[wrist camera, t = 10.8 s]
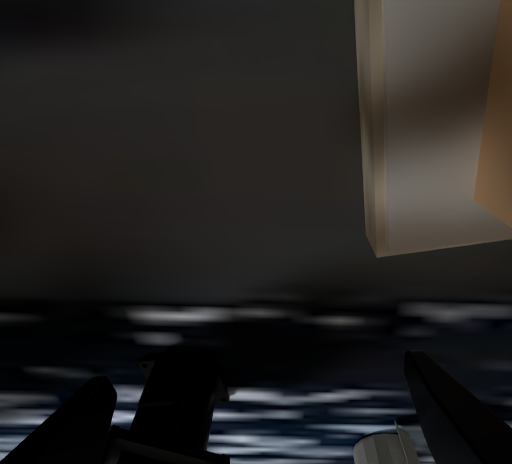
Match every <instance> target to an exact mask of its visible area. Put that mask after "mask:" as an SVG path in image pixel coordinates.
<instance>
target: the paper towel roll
mask: <svg viewBox="0 0 512 464" xmlns="http://www.w3.org/2000/svg"><path fill="white" fill-rule="evenodd" d="M395 425H396V429H397V432H398V435H396V434H377V435H371V436H369V437H366V438H363V439H362V440H360V441H359V442H358V443H356V444H355V447H354V450H353V456H354V461H355V464H420V462H419V459H418V456H417V453H416V450H415V447H414V445H413V443H412V441H411V438H410V436H409V435H407V434H406V433H404V432H403V431H401V430H400V429H399V427H398V426H397V424H396V421H395Z"/></svg>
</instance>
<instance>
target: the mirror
mask: <svg viewBox="0 0 512 464" xmlns="http://www.w3.org/2000/svg"><path fill="white" fill-rule="evenodd" d="M499 4H500V0H354V10H355V30H356V49H357V69H358V88H359V108H360V127H361V147H362V166H363V186H364V205H365V225H366V236H367V238H368V240H369V242H370V244H371V246H372V248H373V251H374V253H375V255H376V257H385V256H392V255H399V254H406V253H414V252H421V251H428V250H435V249H443V248H450V247H457V246H465V245H472V244H479V243H486V242H494V241H501V240H508V239H512V228H511V227H510V226H508V225H507V224H506V223H504V222H503V221H502V220H500V219H499V218H498V217H496V216H495V215H494V214H492V213H491V212H490V211H488V210H487V209H486V208H484V207H483V206H482V205H480V204H479V203H478V202H476V201H475V200H474V199H473V198H474V191H475V184H476V176H477V169H478V161H479V154H480V146H481V139H482V131H483V124H484V116H485V109H486V101H487V94H488V86H489V79H490V71H491V64H492V56H493V49H494V41H495V34H496V26H497V19H498V12H499Z"/></svg>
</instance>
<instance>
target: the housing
mask: <svg viewBox="0 0 512 464" xmlns="http://www.w3.org/2000/svg"><path fill="white" fill-rule="evenodd" d="M473 199H474V200H475V201H476V202H478V203H479V204H480V205H482V206H483V207H484V208H486V209H487V210H488V211H490V212H491V213H492V214H494V215H495V216H496V217H498V218H499V219H500V220H502V221H503V222H504V223H506V224H507V225H508V226H510V227H511V228H512V0H500V4H499V12H498V19H497V26H496V34H495V41H494V49H493V56H492V64H491V71H490V79H489V86H488V94H487V101H486V109H485V116H484V124H483V131H482V139H481V146H480V154H479V161H478V169H477V176H476V184H475V191H474V198H473Z"/></svg>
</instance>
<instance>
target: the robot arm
mask: <svg viewBox="0 0 512 464" xmlns="http://www.w3.org/2000/svg"><path fill="white" fill-rule="evenodd" d="M139 367H140V369H141V370H142V372H143V374H144V376H145V377H146V379H147V382H146V385H145V387H144V390H143V392H142V395H141V397H140V400H139V402H138V409H137V411H136V414H135V417H134V419H133V422H132V424H131V427H130V429H129V430H125V429H122V428H120V426H116V425H113V426H112V428H111V430H110V432H109V429H110V425H111V421H112V417H113V413H114V409H115V405H116V401H117V393H116V390H115V389H114V387H113V385H112V384H111V382H110V380H109V379H108V377H106V376H97V377H93V378H91V379H90V380H89V381H88V382H87V383H86V384H84V385H83V386H82V387H81V388H80V389H79V390H78V391H77V392H76V393H75V394H74V395H72V396H71V397H70V398H69V399H68V400H67V401H66V402H65V403H64V404H63V405H61V406H60V407H59V408H58V409H57V410H56V411H55V412H54V413H53V414H52V415H50V416H49V417H48V418H47V419H46V420H45V421H44V422H43V423H42V424H41V425H40V426H38V427H37V428H36V429H35V430H34V431H33V432H32V433H31V434H30V435H29V436H27V437H26V438H25V439H24V440H23V441H22V442H21V443H20V444H19V445H18V446H17V447H15V448H14V449H13V450H12V451H11V452H10V453H9V454H8V455H7V456H6V457H4V458H3V459H2V460H1V461H0V464H230V455H226V454H222V455H220V454H217V453H213V452H209V451H207V446H208V440H209V434H210V429H211V423H212V417H213V412H214V406H215V404H224V403H228V402H229V398H230V395H229V393H228V390H227V388H226V386H225V383H224V381H223V378H222V376H221V373H220V371H219V368H218V366H217V363H216V361H215V359H214V356H213V354H212V353H210V352H196V353H186V354H176V355H167V356H157V357H147V358H142V359H141V360H140V362H139ZM404 374H405V378H406V382H407V385H408V388H409V391H410V394H411V397H412V400H413V403H414V407H415V410H416V413H417V416H418V419H419V422H420V425H421V428H422V431H423V434H424V437H425V439H426V442H427V444H428V447H429V449H430V451H431V454H432V456H433V458H434V461H435V463H436V464H512V428H511V427H510V426H509V425H508V424H506V423H505V422H504V421H503V420H502V419H501V418H500V417H498V416H497V415H496V414H495V413H494V412H493V411H492V410H490V409H489V408H488V407H487V406H486V405H485V404H484V403H482V402H481V401H480V400H479V399H478V398H477V397H476V396H474V395H473V394H472V393H471V392H470V391H469V390H467V389H466V388H465V387H464V386H463V385H462V384H461V383H459V382H458V381H457V380H456V379H455V378H454V377H453V376H451V375H450V374H449V373H448V372H447V371H446V370H445V369H443V368H442V367H441V366H440V365H439V364H438V363H437V362H435V361H434V360H433V359H432V358H431V357H430V356H429V355H427V354H426V353H425V352H424V351H423V350H420V349H415V350H407V351H406V352H405V361H404ZM108 432H109V433H108Z"/></svg>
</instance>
